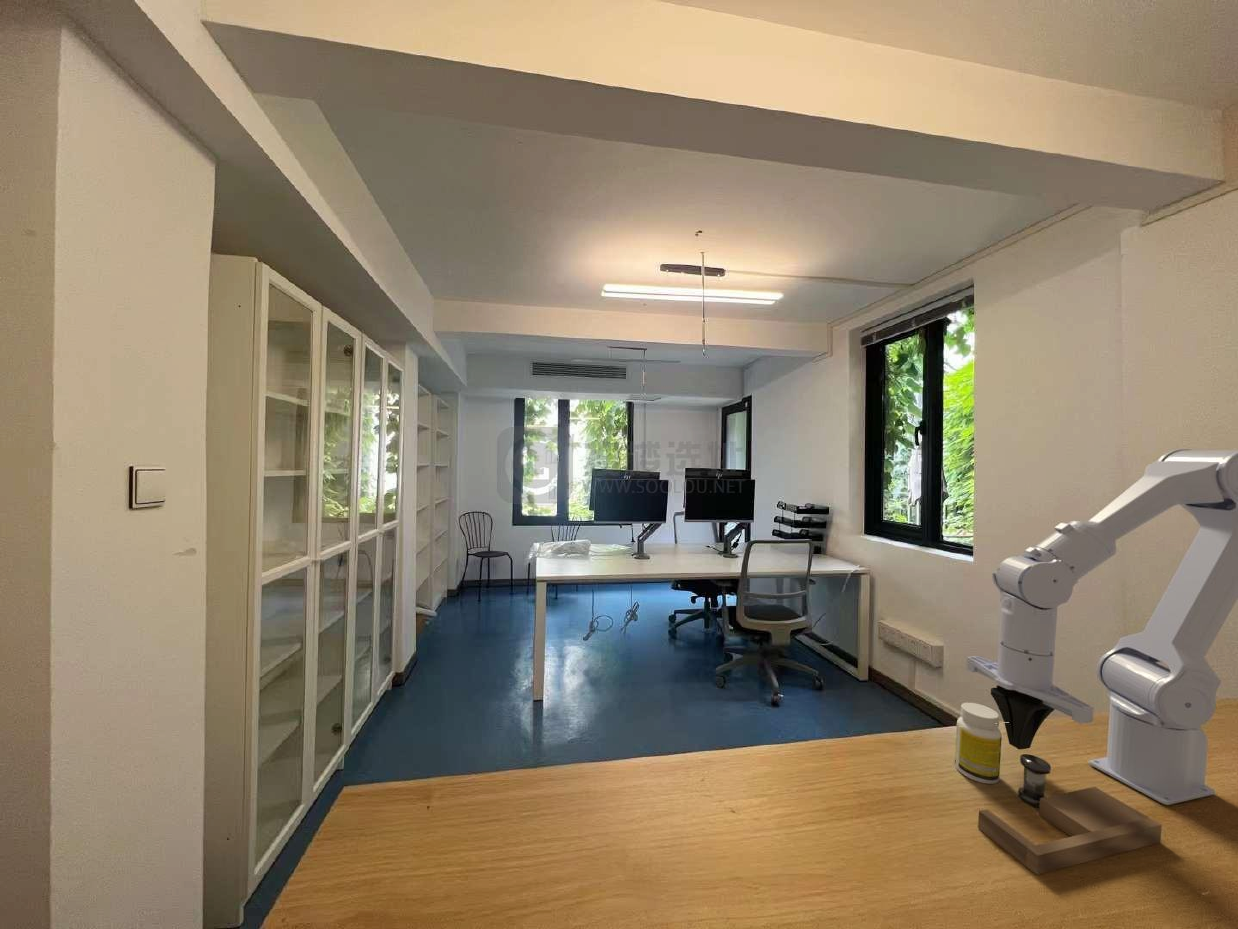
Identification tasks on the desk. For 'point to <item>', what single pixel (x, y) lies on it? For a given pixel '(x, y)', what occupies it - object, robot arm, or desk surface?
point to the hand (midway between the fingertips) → (1019, 745)
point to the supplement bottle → (978, 743)
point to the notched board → (1076, 830)
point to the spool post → (1033, 779)
